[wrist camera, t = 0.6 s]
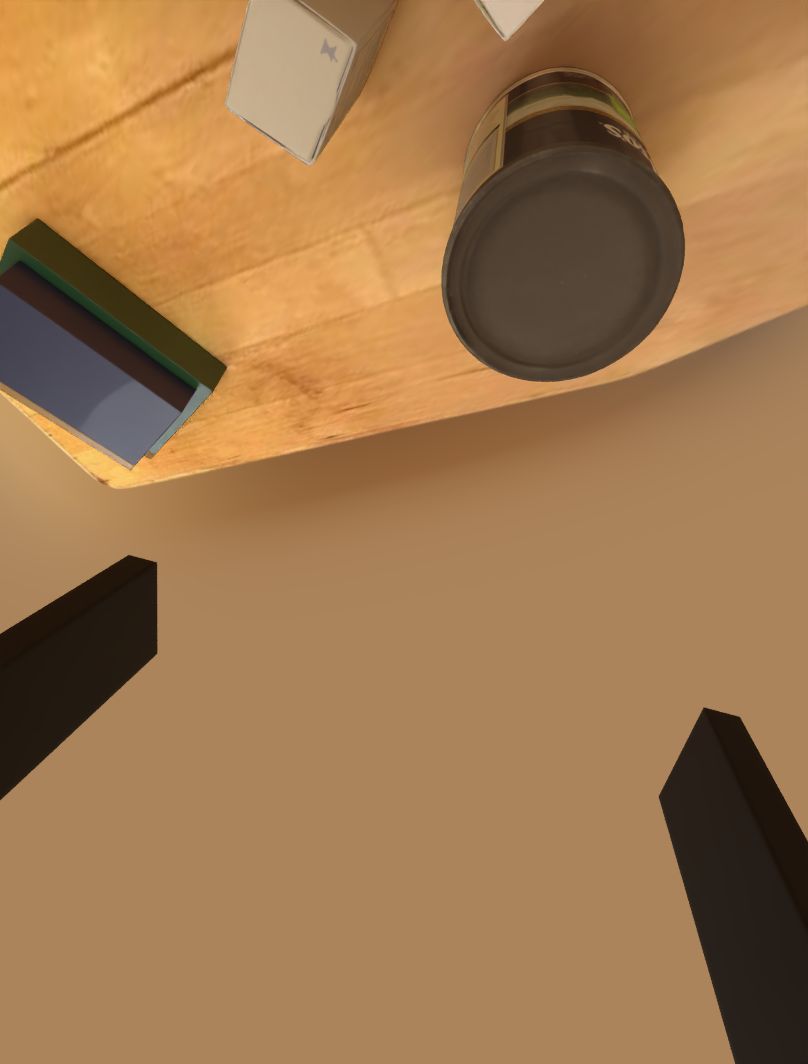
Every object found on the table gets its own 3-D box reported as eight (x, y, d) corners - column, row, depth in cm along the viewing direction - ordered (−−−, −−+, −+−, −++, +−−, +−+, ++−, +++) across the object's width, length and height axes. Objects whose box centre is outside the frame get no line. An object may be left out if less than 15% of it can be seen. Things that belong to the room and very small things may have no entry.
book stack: (-5, 320, 47) (-57, 364, 43) (37, 217, 40) (-20, 258, 35) (165, 435, 55) (136, 481, 50) (227, 367, 47) (199, 414, 43)
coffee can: (597, 12, 28) (635, 77, 19) (662, 201, 33) (714, 319, 24) (428, 147, 33) (395, 248, 24) (510, 289, 39) (507, 413, 30)
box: (326, -65, 27) (257, -44, 20) (401, -2, 28) (363, 38, 21) (288, 56, 31) (220, 109, 24) (357, 105, 32) (311, 170, 25)
